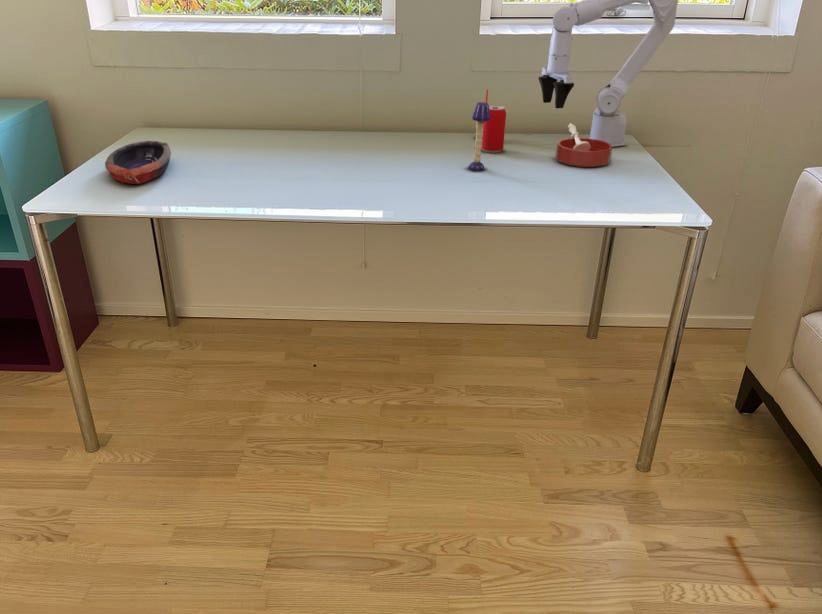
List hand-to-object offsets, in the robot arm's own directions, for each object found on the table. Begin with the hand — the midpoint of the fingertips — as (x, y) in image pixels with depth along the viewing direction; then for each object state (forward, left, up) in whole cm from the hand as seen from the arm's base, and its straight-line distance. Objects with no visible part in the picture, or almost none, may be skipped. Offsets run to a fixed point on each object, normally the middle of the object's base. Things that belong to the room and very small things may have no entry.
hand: (552, 105), depth 210 cm
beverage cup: (+16, -11, -11) cm, 22 cm away
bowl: (+4, +21, -10) cm, 24 cm away
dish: (+115, -16, -11) cm, 117 cm away
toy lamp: (+34, +16, -11) cm, 39 cm away
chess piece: (+4, +20, -8) cm, 22 cm away
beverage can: (+21, +2, -11) cm, 23 cm away
